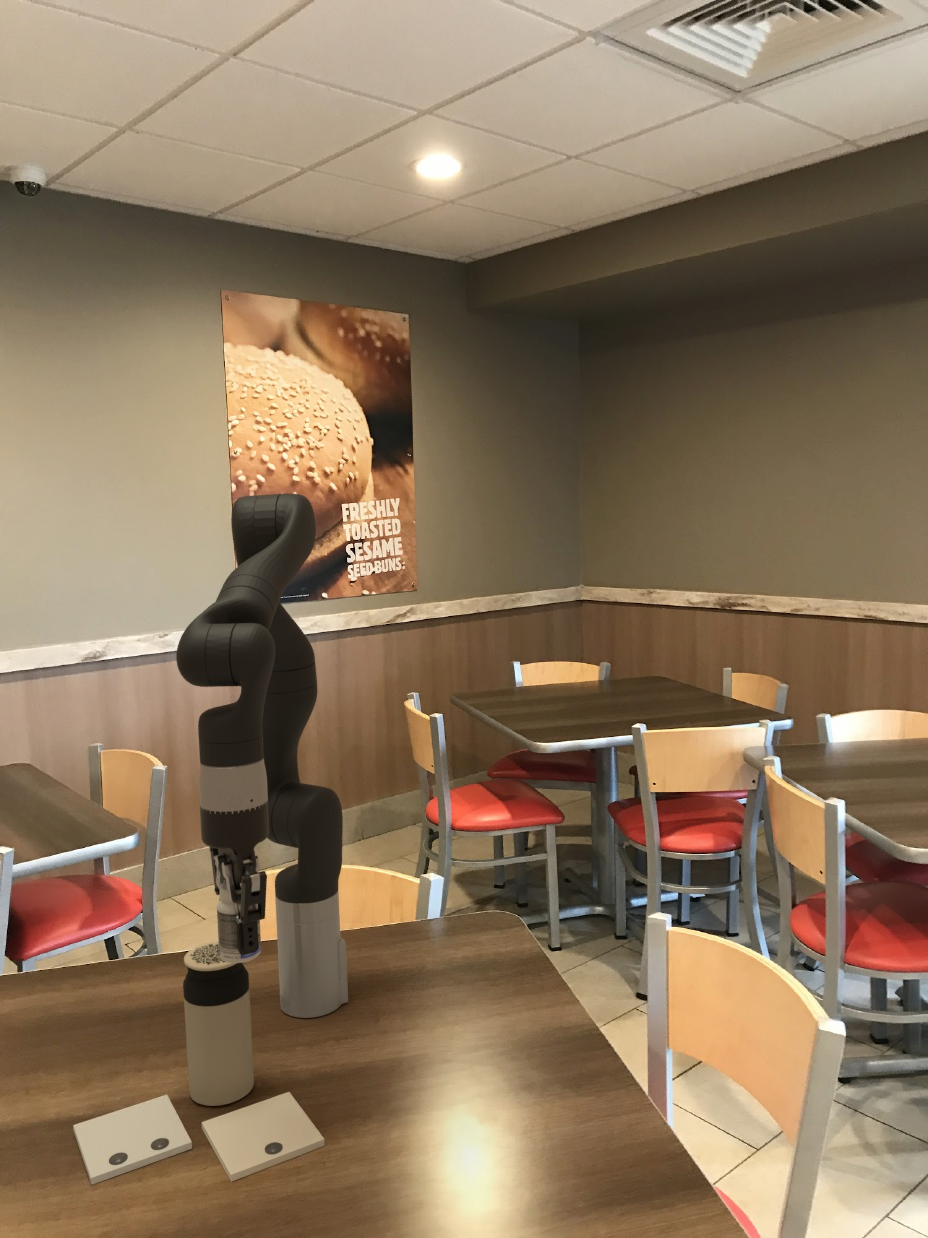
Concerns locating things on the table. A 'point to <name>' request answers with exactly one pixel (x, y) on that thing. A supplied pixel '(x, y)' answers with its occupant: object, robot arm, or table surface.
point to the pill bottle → (231, 930)
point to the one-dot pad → (261, 1135)
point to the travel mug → (217, 1027)
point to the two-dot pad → (130, 1138)
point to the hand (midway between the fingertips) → (241, 943)
